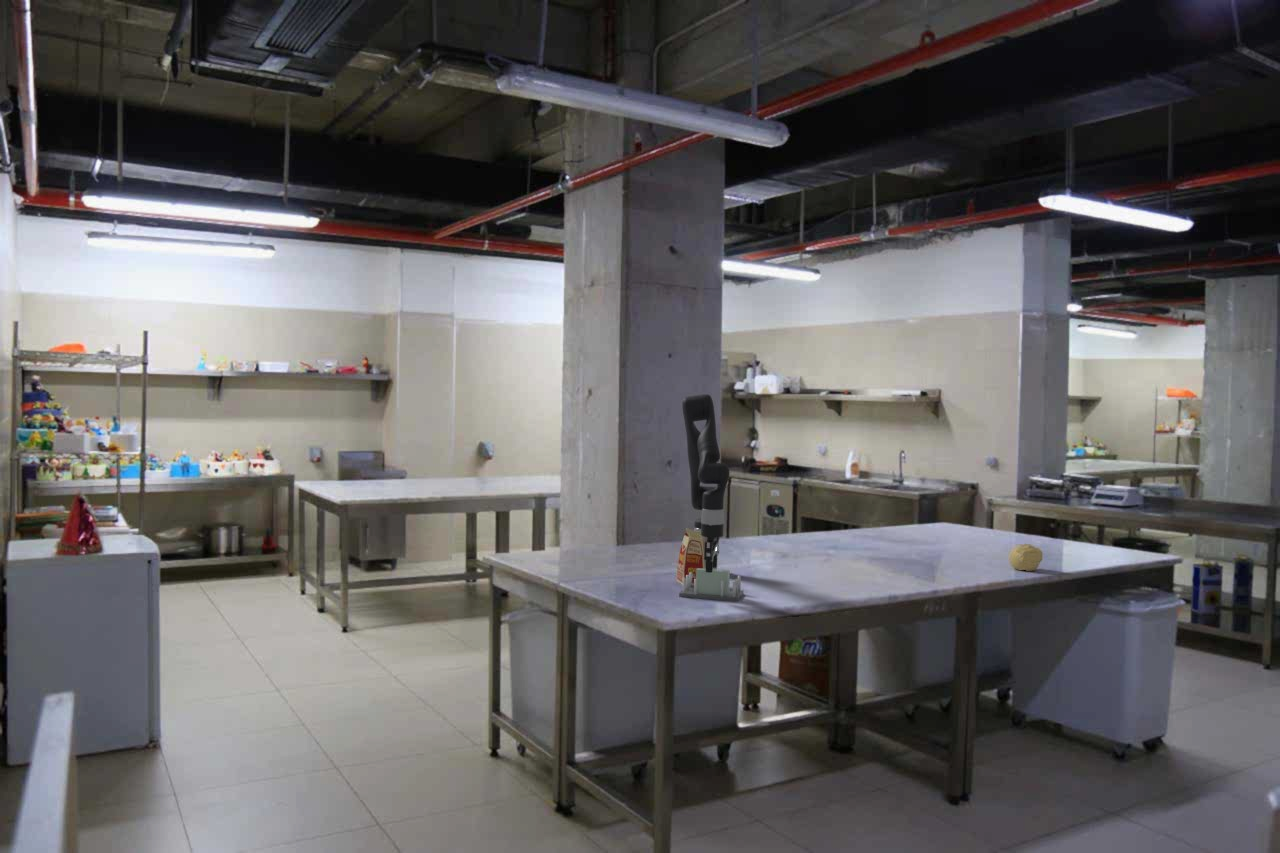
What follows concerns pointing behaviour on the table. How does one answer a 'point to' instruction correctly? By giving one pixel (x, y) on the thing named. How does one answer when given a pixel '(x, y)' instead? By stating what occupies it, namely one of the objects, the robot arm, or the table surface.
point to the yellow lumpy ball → (1025, 557)
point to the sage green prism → (712, 581)
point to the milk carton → (690, 555)
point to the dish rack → (692, 593)
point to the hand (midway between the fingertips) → (711, 569)
